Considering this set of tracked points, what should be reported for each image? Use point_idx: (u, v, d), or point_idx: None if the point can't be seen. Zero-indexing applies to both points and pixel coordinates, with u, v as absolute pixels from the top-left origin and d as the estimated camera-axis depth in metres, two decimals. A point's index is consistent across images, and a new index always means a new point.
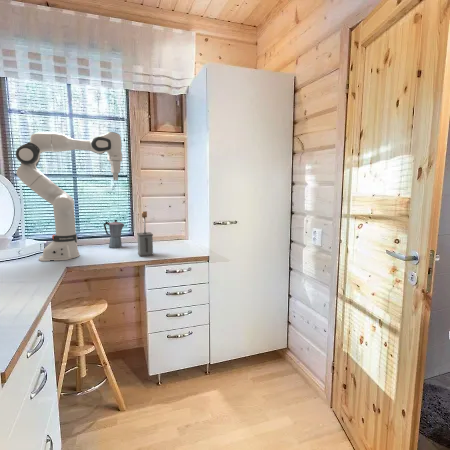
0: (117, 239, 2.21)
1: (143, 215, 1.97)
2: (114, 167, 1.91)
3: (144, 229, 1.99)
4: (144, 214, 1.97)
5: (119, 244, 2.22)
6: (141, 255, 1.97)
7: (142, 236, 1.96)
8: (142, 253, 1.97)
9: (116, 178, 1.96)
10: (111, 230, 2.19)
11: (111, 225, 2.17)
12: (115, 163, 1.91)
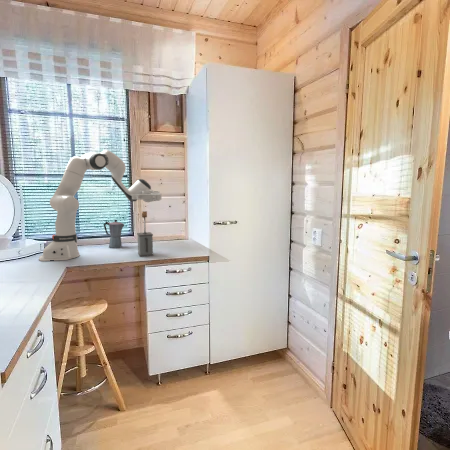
0: (117, 239, 2.21)
1: (143, 215, 1.97)
2: None
3: (144, 229, 1.99)
4: (144, 214, 1.97)
5: (119, 244, 2.22)
6: (141, 255, 1.97)
7: (142, 236, 1.96)
8: (142, 253, 1.97)
9: (154, 197, 2.12)
10: (111, 230, 2.19)
11: (111, 225, 2.17)
12: None
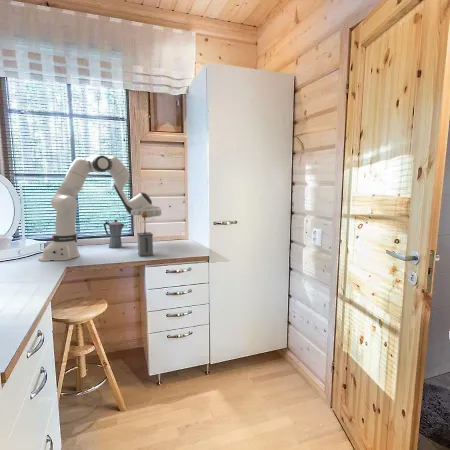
0: (117, 239, 2.21)
1: (143, 215, 1.97)
2: None
3: (144, 229, 1.99)
4: (144, 214, 1.97)
5: (119, 244, 2.22)
6: (141, 255, 1.97)
7: (142, 236, 1.96)
8: (142, 253, 1.97)
9: (153, 213, 2.07)
10: (111, 230, 2.19)
11: (111, 225, 2.17)
12: None
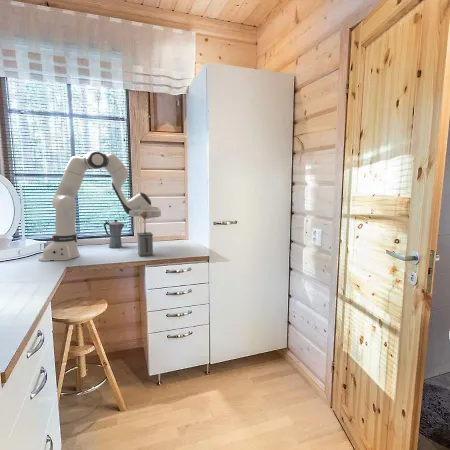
0: (117, 239, 2.21)
1: (143, 215, 1.97)
2: (160, 211, 2.06)
3: (144, 229, 1.99)
4: (144, 214, 1.97)
5: (119, 244, 2.22)
6: (141, 255, 1.97)
7: (142, 236, 1.96)
8: (142, 253, 1.97)
9: (149, 214, 1.99)
10: (111, 230, 2.19)
11: (111, 225, 2.17)
12: None
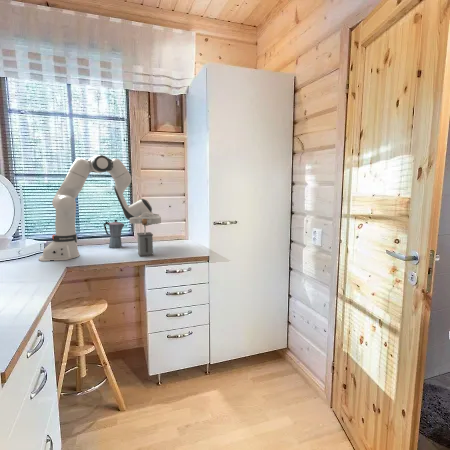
0: (117, 239, 2.21)
1: (143, 222, 1.98)
2: (160, 218, 2.07)
3: None
4: (144, 221, 1.98)
5: (119, 244, 2.22)
6: (141, 255, 1.97)
7: (142, 236, 1.96)
8: (142, 253, 1.97)
9: (149, 221, 2.00)
10: (111, 230, 2.19)
11: (111, 225, 2.17)
12: None
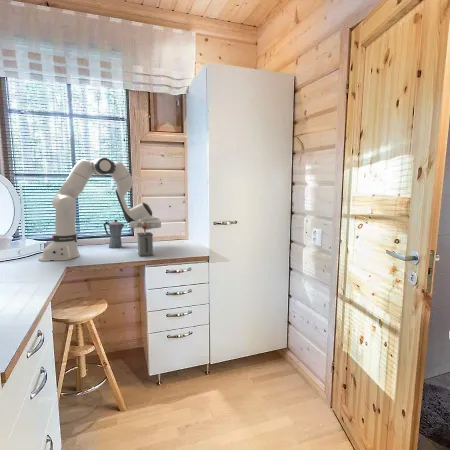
0: (117, 239, 2.21)
1: (143, 226, 1.98)
2: (160, 222, 2.08)
3: None
4: (144, 225, 1.98)
5: (119, 244, 2.22)
6: (141, 255, 1.97)
7: (142, 236, 1.96)
8: (142, 253, 1.97)
9: (153, 225, 2.01)
10: (111, 230, 2.19)
11: (111, 225, 2.17)
12: None
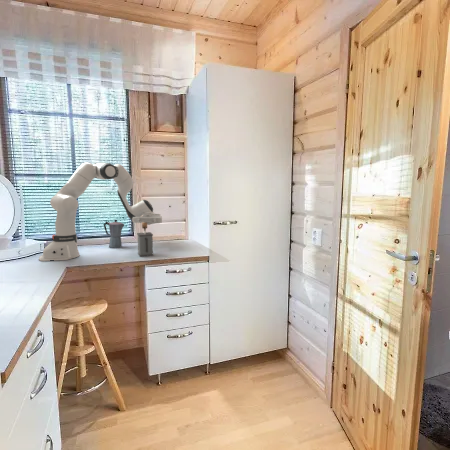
0: (117, 239, 2.21)
1: (143, 226, 1.98)
2: (161, 217, 2.20)
3: None
4: (144, 225, 1.98)
5: (119, 244, 2.22)
6: (141, 255, 1.97)
7: (142, 236, 1.96)
8: (142, 253, 1.97)
9: (154, 220, 2.13)
10: (111, 230, 2.19)
11: (111, 225, 2.17)
12: None
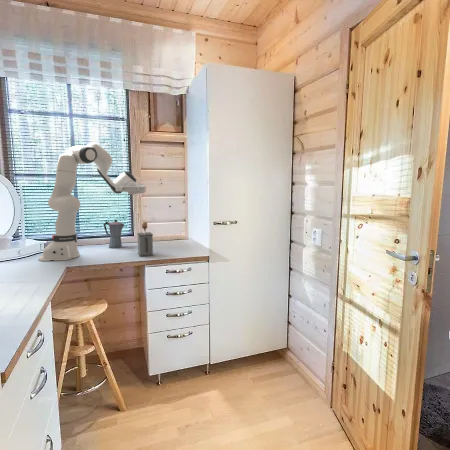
0: (117, 239, 2.21)
1: (143, 226, 1.98)
2: (145, 186, 2.19)
3: None
4: (144, 225, 1.98)
5: (119, 244, 2.22)
6: (141, 255, 1.97)
7: (142, 236, 1.96)
8: (142, 253, 1.97)
9: (137, 189, 2.12)
10: (111, 230, 2.19)
11: (111, 225, 2.17)
12: None
